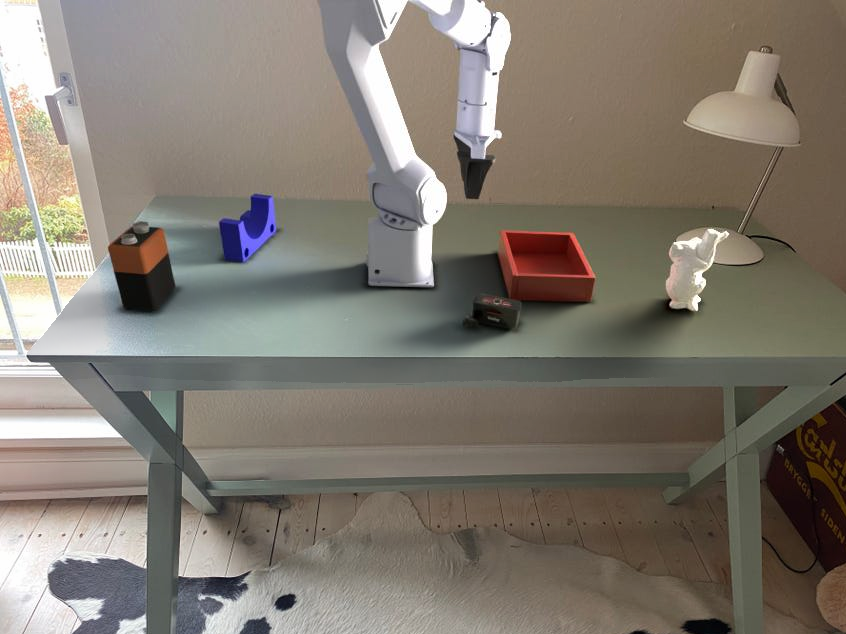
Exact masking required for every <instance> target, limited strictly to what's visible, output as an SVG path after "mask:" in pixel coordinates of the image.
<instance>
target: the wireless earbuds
mask: <svg viewBox="0 0 846 634" xmlns="http://www.w3.org/2000/svg"><path fill="white" fill-rule="evenodd" d="M521 309H522V302H521V300H513V299H510V298H509V297H503V296H499V295H498V296H497V295H493V294H488V293H482V292H477V293H476V294H475V295H474V297H473V299H472V308H471V315H469V314H467V315H465V318H464V319H462V321H461V323H460V324H461V326H465V327H466V326H469V327H472V328H476V327H478V326H479V323H480V324H485V325H489V326H495V327H500V328H504V329H508V330H515V329H516V328H517V326H518V325H519V322H520V316H521Z"/></svg>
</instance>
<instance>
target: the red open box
mask: <svg viewBox="0 0 846 634" xmlns="http://www.w3.org/2000/svg"><path fill="white" fill-rule="evenodd" d="M497 247H498V249H497V255H498V260H499V263H500V266H501V271H502V274H503V279H504V282H505V286H506V290H507V293H508V299H513V300H518V301H535V302H536V301H537V302H538V301H539V302H540V301H541V302H542V301H543V302H579V303H580V302H581V303H587V302H588V303H591V302H592V297H593V293H594V287H595V283H596V276H595V274H594V272H593V270H592V268H591V266H590V264H589V262H588V260H587V258H586V256H585V254H584V252H583V250H582V247H581V246H580V244H579V242H578V240H577V238H576V236H575V234H574V232H553V231H552V232H551V231H529V230H528V231H527V230H526V231H525V230H499V239H498V245H497Z"/></svg>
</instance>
